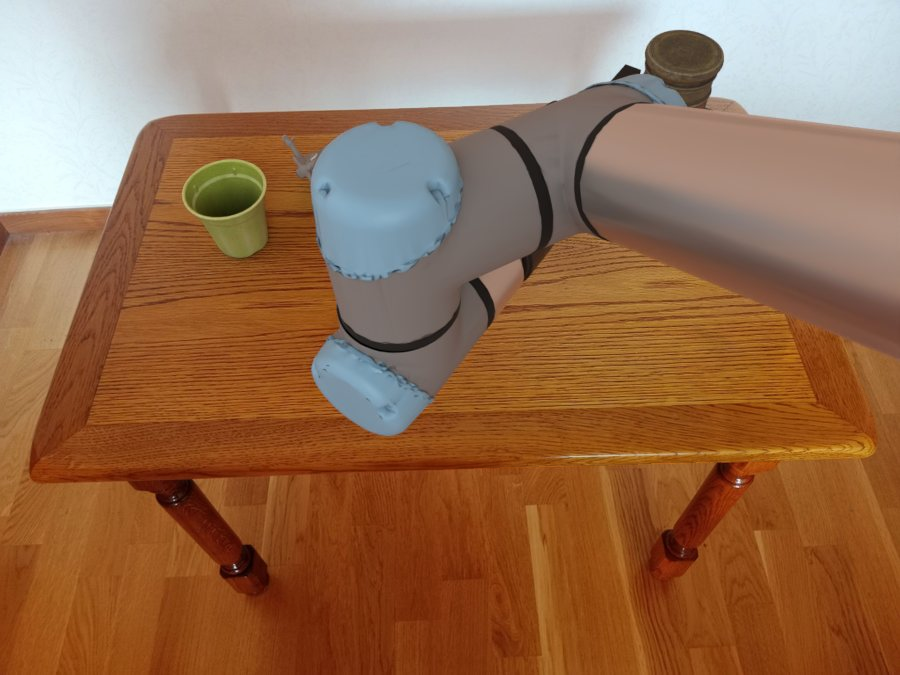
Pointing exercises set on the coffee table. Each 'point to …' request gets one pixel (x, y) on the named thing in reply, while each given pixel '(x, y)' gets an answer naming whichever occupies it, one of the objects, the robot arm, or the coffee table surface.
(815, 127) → the robot arm
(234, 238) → the plant pot
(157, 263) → the coffee table surface
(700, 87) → the container
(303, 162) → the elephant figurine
